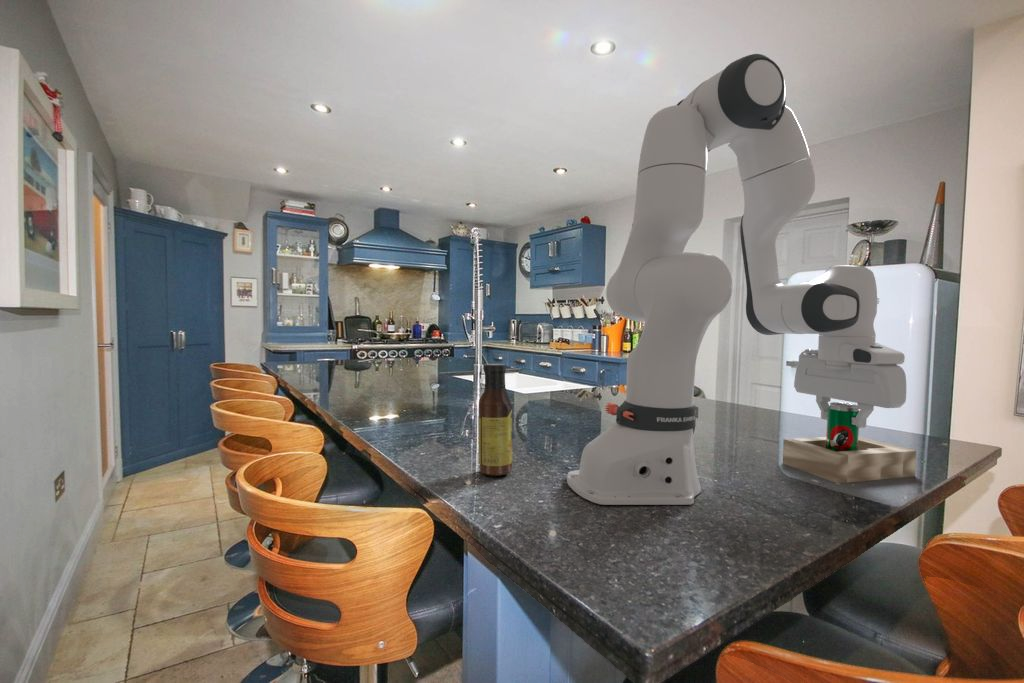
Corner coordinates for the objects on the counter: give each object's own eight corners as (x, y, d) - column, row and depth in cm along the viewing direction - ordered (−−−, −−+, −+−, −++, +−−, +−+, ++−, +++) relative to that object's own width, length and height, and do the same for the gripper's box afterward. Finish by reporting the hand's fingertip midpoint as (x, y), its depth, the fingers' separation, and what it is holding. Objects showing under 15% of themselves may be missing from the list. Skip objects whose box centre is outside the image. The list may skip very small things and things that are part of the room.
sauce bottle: (518, 473, 85) (520, 365, 84) (489, 479, 81) (491, 366, 81) (499, 464, 90) (501, 362, 90) (471, 469, 87) (472, 363, 86)
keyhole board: (836, 483, 82) (838, 455, 82) (782, 463, 94) (783, 439, 94) (914, 477, 87) (916, 450, 86) (853, 458, 98) (854, 435, 98)
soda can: (863, 470, 87) (866, 406, 87) (836, 469, 87) (839, 406, 87) (844, 462, 92) (847, 402, 92) (819, 461, 92) (821, 401, 92)
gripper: (787, 348, 98) (785, 413, 99) (886, 355, 79) (882, 436, 79) (812, 348, 100) (809, 412, 100) (915, 355, 80) (911, 435, 81)
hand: (842, 423), depth 90 cm, fingers closed on soda can, 5 cm apart
